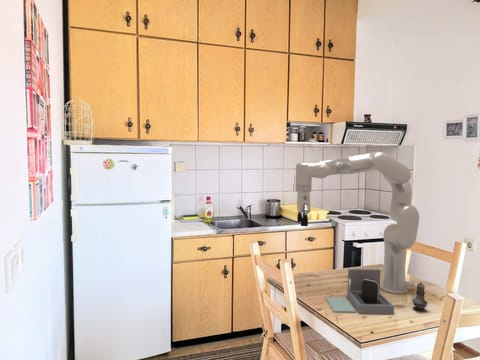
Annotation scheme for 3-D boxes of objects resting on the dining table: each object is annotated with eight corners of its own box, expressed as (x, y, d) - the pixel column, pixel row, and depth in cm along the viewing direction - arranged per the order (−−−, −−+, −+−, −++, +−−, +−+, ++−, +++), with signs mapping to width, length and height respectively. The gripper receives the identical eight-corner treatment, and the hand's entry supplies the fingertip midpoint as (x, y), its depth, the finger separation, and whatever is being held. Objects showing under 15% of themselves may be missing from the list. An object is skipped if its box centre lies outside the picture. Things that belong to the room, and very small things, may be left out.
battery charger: (379, 306, 150) (380, 280, 150) (377, 309, 147) (378, 282, 147) (363, 302, 154) (364, 276, 154) (360, 305, 151) (361, 278, 151)
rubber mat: (345, 299, 158) (345, 297, 158) (355, 312, 144) (355, 311, 144) (325, 298, 158) (325, 297, 158) (333, 312, 144) (333, 310, 144)
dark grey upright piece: (409, 306, 151) (410, 279, 150) (423, 307, 151) (424, 279, 150) (415, 312, 145) (417, 284, 144) (430, 313, 145) (431, 284, 144)
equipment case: (378, 298, 159) (379, 269, 158) (393, 314, 143) (395, 281, 142) (347, 298, 159) (348, 268, 158) (359, 313, 143) (360, 281, 142)
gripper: (315, 190, 159) (314, 227, 160) (307, 187, 177) (306, 221, 178) (298, 190, 159) (297, 227, 160) (292, 187, 177) (291, 220, 178)
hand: (302, 224), depth 169 cm, fingers open, 9 cm apart
